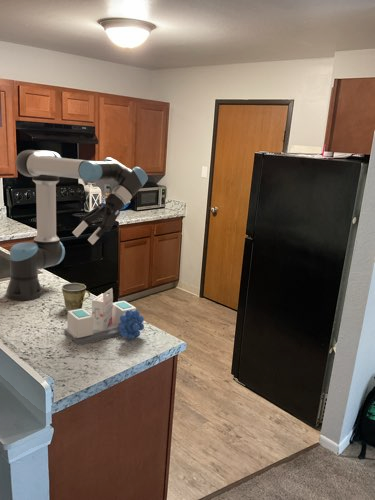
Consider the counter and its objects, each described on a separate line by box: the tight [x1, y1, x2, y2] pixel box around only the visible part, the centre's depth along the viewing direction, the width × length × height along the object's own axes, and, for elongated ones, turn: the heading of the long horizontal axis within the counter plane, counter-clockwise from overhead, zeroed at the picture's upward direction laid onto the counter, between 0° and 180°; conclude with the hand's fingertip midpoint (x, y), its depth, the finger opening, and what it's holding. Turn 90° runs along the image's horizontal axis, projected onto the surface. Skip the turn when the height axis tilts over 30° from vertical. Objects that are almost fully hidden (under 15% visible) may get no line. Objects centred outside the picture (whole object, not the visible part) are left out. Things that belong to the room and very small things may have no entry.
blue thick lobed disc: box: [118, 309, 145, 341], centre depth 154 cm, size 12×7×12 cm, turn 133°
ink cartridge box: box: [91, 287, 114, 331], centre depth 159 cm, size 9×5×15 cm, turn 166°
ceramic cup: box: [61, 282, 91, 312], centre depth 179 cm, size 13×10×10 cm
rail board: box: [63, 300, 137, 346], centre depth 160 cm, size 12×25×9 cm, turn 129°
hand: (82, 238), depth 162 cm, fingers open, 13 cm apart
